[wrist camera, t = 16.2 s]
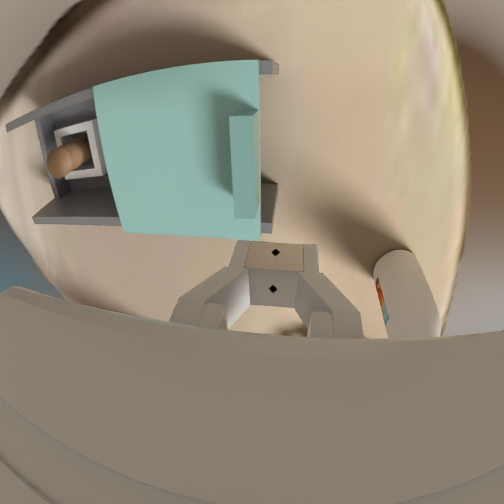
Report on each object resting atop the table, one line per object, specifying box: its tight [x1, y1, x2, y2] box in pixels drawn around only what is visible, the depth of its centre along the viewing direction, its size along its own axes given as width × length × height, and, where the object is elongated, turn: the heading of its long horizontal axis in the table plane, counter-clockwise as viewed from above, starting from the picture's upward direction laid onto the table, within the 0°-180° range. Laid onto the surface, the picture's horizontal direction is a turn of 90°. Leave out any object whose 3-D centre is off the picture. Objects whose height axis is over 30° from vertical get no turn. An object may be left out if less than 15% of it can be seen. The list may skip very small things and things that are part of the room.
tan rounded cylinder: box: [46, 134, 92, 179], centre depth 29 cm, size 4×4×7 cm
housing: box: [6, 60, 279, 234], centre depth 28 cm, size 16×35×10 cm, turn 91°
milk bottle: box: [373, 250, 441, 339], centre depth 31 cm, size 8×8×20 cm
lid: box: [93, 60, 261, 241], centre depth 21 cm, size 16×15×4 cm
